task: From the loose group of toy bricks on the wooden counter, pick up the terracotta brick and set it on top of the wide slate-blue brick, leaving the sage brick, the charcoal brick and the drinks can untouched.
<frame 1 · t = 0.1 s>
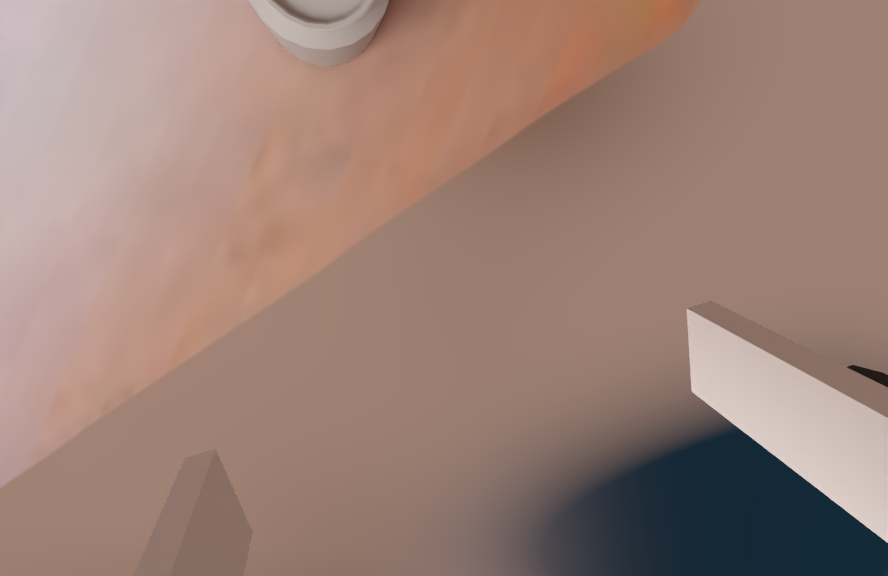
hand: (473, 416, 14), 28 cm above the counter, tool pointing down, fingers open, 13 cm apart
can: (322, 7, 35), on the counter
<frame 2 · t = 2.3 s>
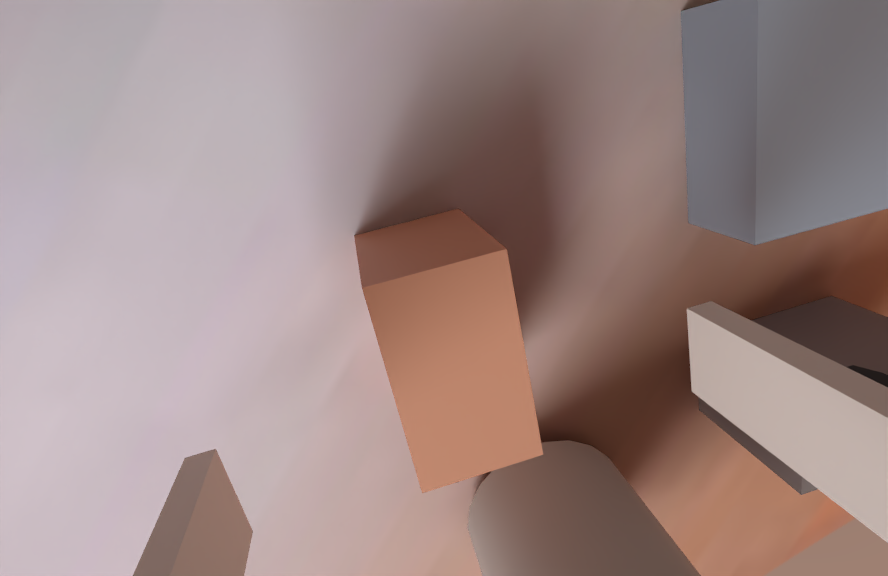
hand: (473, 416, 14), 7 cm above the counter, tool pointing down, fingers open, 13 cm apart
can: (537, 493, 25), on the counter
slate blue brick: (771, 102, 21), on the counter
charcoal brick: (763, 353, 25), on the counter
terracotta brick: (427, 305, 21), on the counter
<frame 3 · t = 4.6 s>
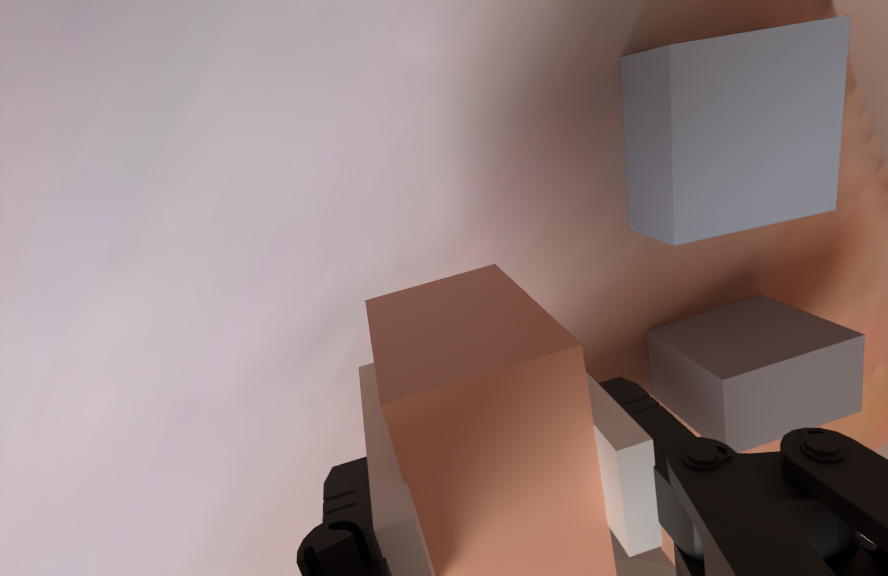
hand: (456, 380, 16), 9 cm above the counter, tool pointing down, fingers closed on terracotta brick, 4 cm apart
can: (513, 468, 29), on the counter
slate blue brick: (697, 133, 26), on the counter
charcoal brick: (706, 344, 29), on the counter
terracotta brick: (456, 382, 17), point 9 cm above the counter, touching gripper
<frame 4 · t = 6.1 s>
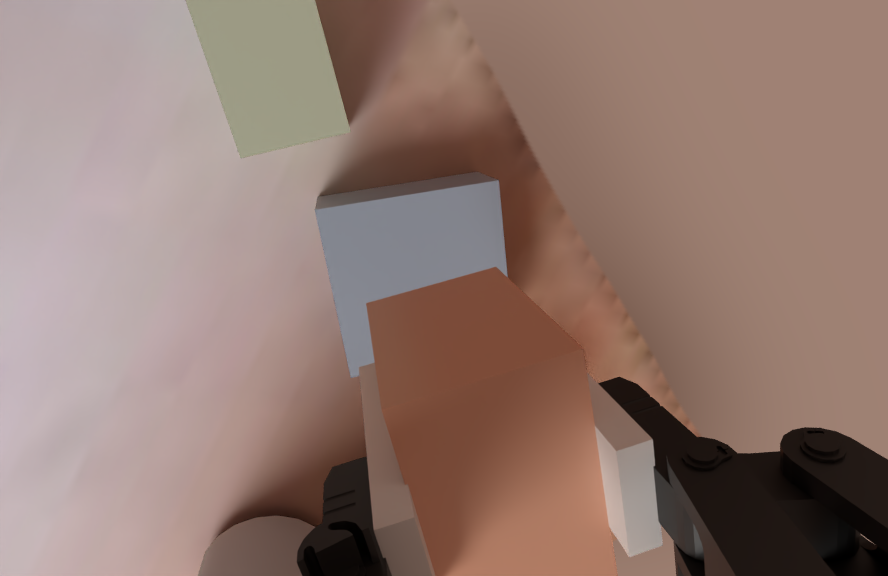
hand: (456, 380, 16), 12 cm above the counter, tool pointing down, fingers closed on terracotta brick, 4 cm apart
can: (271, 554, 31), on the counter
slate blue brick: (410, 259, 27), on the counter
sage brick: (280, 58, 23), on the counter
terracotta brick: (457, 385, 17), point 12 cm above the counter, touching gripper
when the fingers open (5 cm above the counter, at t = 7.8 s): terracotta brick stays where it is, resting on slate blue brick.
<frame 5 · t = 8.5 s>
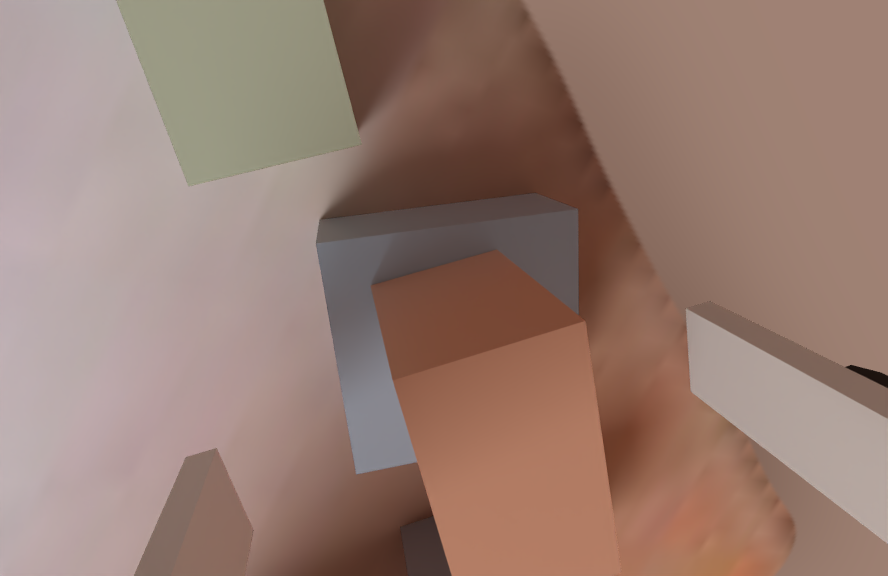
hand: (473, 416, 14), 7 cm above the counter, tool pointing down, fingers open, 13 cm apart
slate blue brick: (439, 305, 21), on the counter, touching terracotta brick
charcoal brick: (483, 534, 24), on the counter
sage brick: (260, 37, 16), on the counter
terracotta brick: (459, 366, 17), point 4 cm above the counter, touching slate blue brick
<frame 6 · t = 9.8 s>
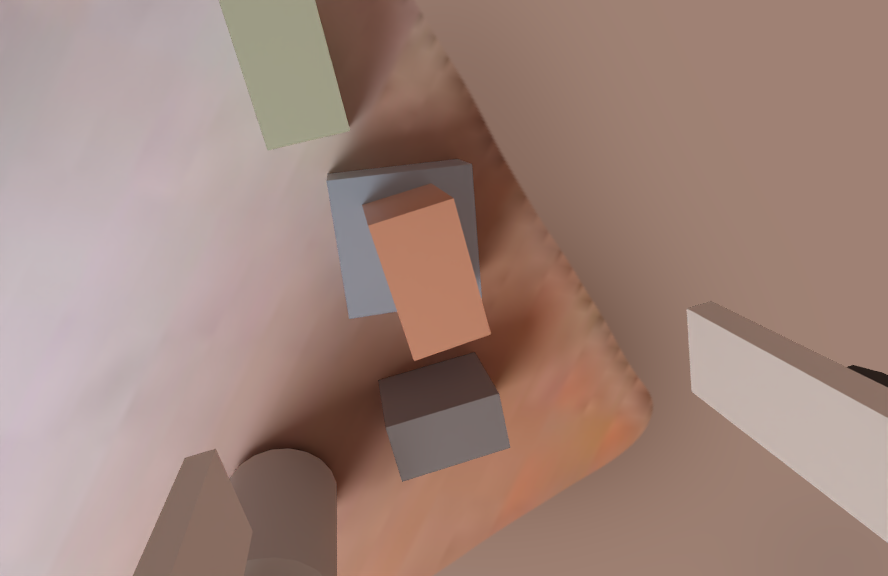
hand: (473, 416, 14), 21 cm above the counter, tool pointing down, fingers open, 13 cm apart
can: (283, 484, 37), on the counter
slate blue brick: (401, 229, 34), on the counter
charcoal brick: (433, 389, 37), on the counter
sage brick: (295, 73, 29), on the counter
terracotta brick: (415, 252, 30), point 4 cm above the counter
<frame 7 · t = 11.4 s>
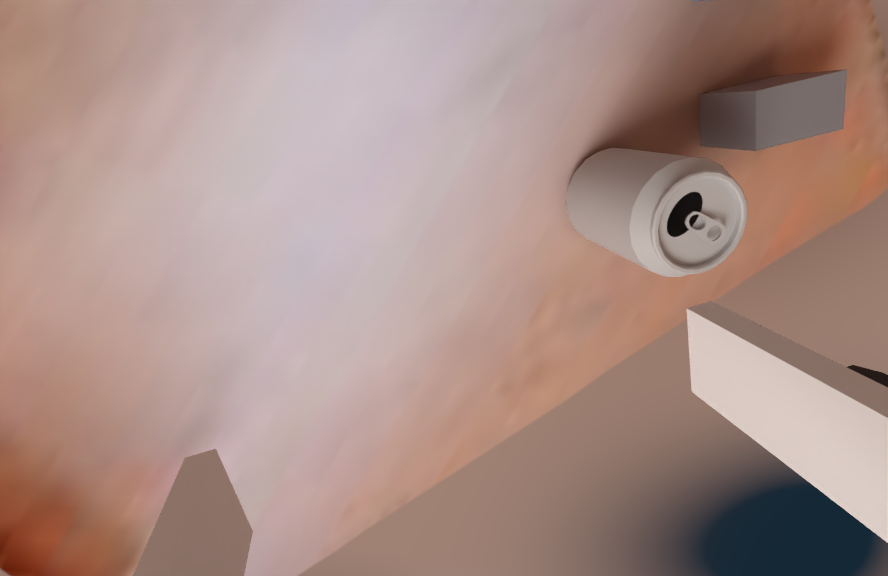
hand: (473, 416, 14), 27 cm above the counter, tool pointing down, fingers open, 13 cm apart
can: (604, 194, 42), on the counter
charcoal brick: (739, 111, 42), on the counter
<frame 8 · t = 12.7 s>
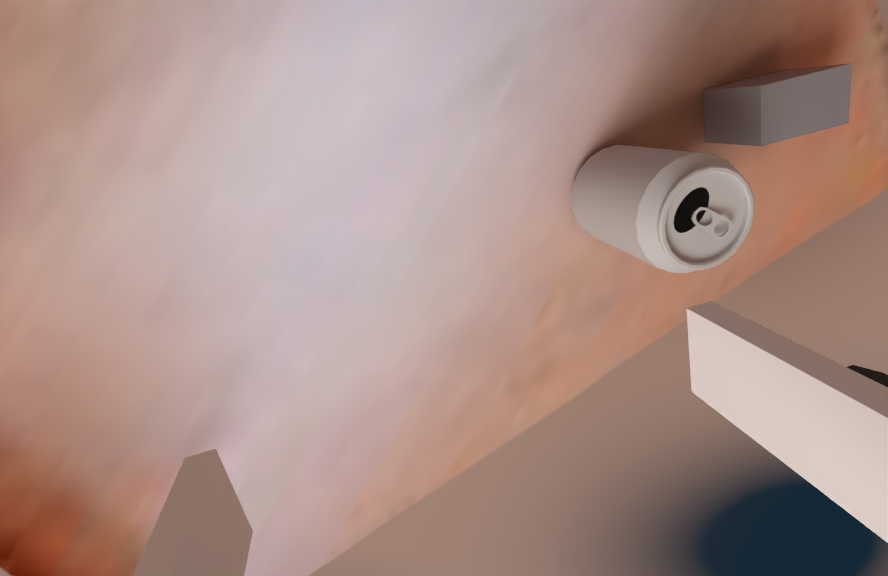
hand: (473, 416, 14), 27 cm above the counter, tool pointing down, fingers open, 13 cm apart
can: (609, 192, 42), on the counter
charcoal brick: (742, 106, 42), on the counter
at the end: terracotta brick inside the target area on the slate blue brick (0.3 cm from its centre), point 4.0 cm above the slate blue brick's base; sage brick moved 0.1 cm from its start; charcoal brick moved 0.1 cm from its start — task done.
